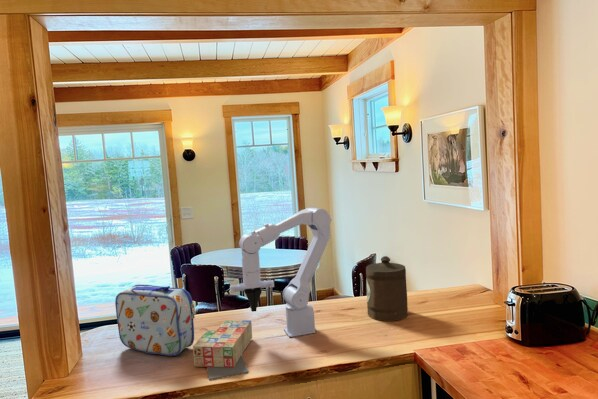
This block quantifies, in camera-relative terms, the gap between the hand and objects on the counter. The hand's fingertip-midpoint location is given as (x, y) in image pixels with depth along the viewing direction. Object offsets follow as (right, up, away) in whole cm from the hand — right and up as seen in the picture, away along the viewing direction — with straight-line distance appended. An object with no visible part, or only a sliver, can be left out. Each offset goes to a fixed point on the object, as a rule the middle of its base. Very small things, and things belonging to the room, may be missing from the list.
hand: (253, 310), depth 147 cm
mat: (-8, -12, -12) cm, 18 cm away
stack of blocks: (-2, -8, -9) cm, 12 cm away
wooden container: (+48, -6, +19) cm, 52 cm away
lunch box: (-31, -13, -2) cm, 33 cm away
